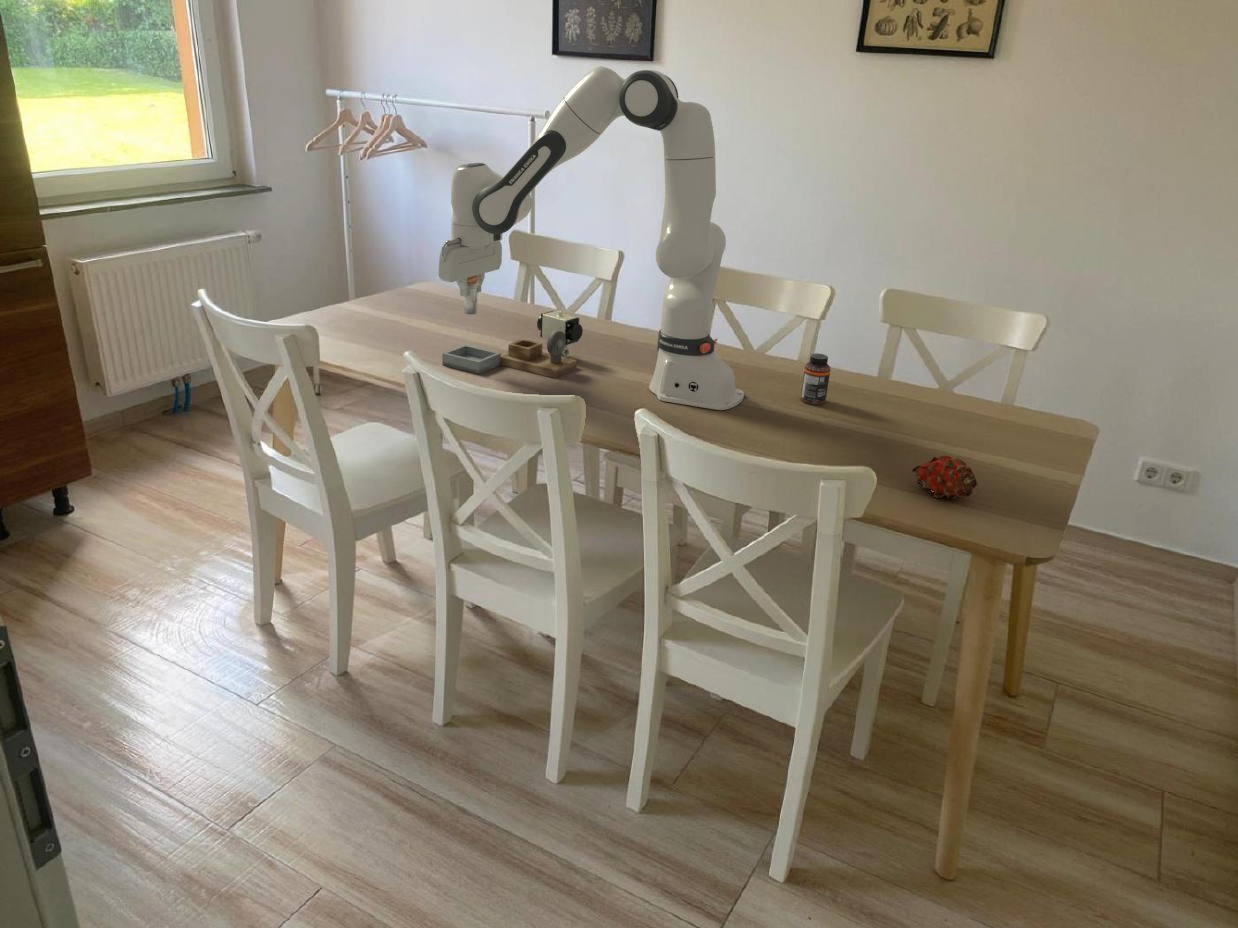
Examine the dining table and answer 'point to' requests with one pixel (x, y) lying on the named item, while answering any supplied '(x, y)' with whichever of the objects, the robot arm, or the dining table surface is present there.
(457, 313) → the dining table surface
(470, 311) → the lock pin
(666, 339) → the robot arm
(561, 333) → the wooden desk organizer
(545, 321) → the pneumatic valve
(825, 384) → the supplement bottle
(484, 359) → the parts tray
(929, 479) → the dragon fruit
